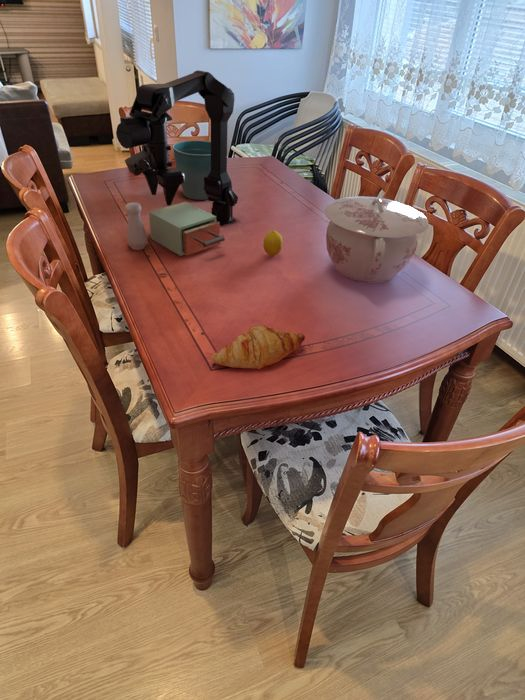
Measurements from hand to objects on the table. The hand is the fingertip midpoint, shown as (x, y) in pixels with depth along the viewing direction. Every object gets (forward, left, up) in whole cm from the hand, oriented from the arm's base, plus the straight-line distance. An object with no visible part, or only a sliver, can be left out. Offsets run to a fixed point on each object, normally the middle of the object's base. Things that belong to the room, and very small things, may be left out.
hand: (161, 200), depth 131 cm
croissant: (+16, +56, -14) cm, 60 cm away
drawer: (-6, +7, -13) cm, 16 cm away
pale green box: (-6, +1, -14) cm, 15 cm away
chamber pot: (-34, +48, -14) cm, 61 cm away
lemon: (-20, +25, -14) cm, 35 cm away
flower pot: (-35, -27, -14) cm, 46 cm away
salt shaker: (+7, -4, -14) cm, 16 cm away
